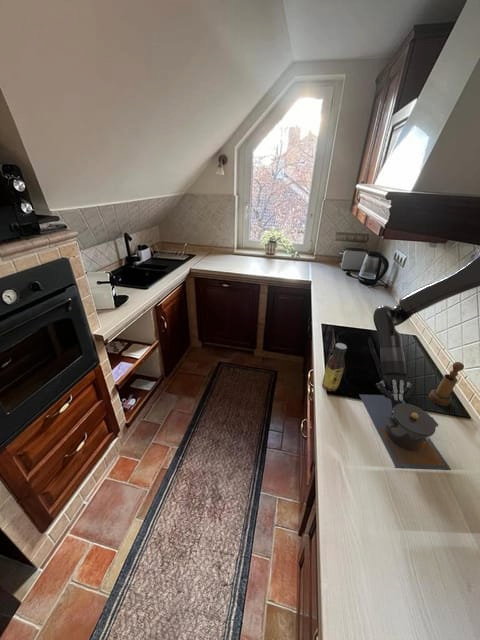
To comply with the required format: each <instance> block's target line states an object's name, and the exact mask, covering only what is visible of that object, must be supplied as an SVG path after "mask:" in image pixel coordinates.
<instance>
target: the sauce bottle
mask: <svg viewBox="0 0 480 640" xmlns="http://www.w3.org/2000/svg"><path fill="white" fill-rule="evenodd" d="M347 349H348V346H347V345H346V344H345V343H342V342H337V343H335V346H334V351H333V353H332V354H331V355H330V356H329V357H328V360H327V363H326V365H325V370H324V374H323V377H322V382H321V385H322V389H324V390H326V391H327V392H331V393H332V391H333V392H336V391H338V388H339V386H340V383H341V380H342V377H343V373H344V370H345V367H346V364H345V363H346V362H345V355H346V352H347Z"/></svg>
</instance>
